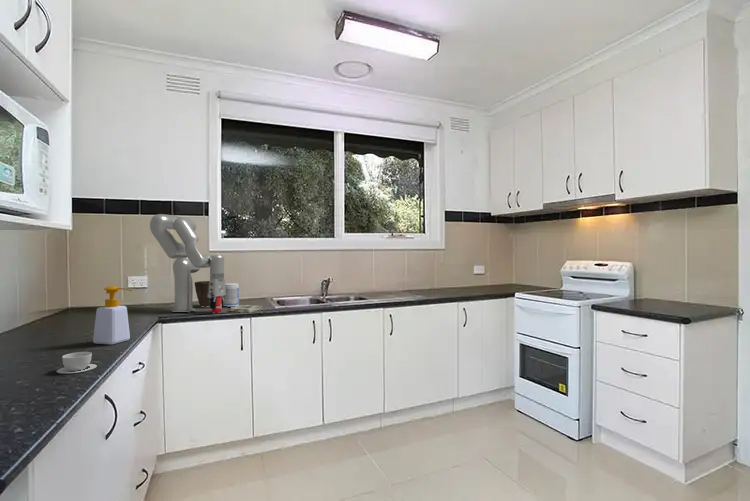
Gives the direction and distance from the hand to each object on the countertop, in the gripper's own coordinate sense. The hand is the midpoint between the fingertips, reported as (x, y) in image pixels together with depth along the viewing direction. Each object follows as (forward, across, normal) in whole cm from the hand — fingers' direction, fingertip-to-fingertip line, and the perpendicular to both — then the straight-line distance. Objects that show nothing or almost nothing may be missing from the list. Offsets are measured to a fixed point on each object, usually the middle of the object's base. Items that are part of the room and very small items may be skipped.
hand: (216, 307), depth 236 cm
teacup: (+4, -107, -28) cm, 111 cm away
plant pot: (+3, +18, +20) cm, 27 cm away
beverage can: (+3, 0, 0) cm, 3 cm away
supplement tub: (+3, +24, +7) cm, 25 cm away
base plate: (+3, +12, -11) cm, 17 cm away
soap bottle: (+3, -75, -9) cm, 76 cm away
